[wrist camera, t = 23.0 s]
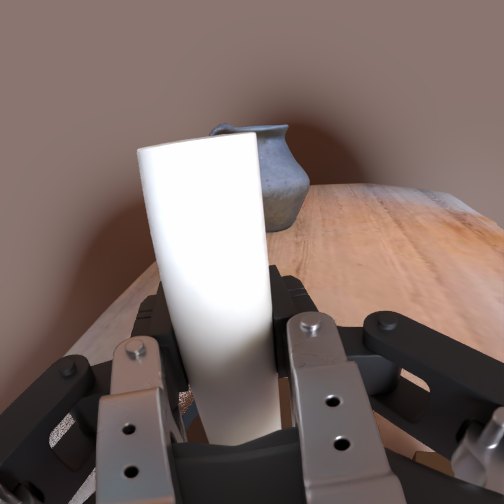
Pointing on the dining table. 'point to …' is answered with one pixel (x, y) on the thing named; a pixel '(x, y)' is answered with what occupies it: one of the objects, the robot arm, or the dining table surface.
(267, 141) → the pitcher
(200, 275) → the tall white pillar
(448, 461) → the brown cube
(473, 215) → the dining table surface
